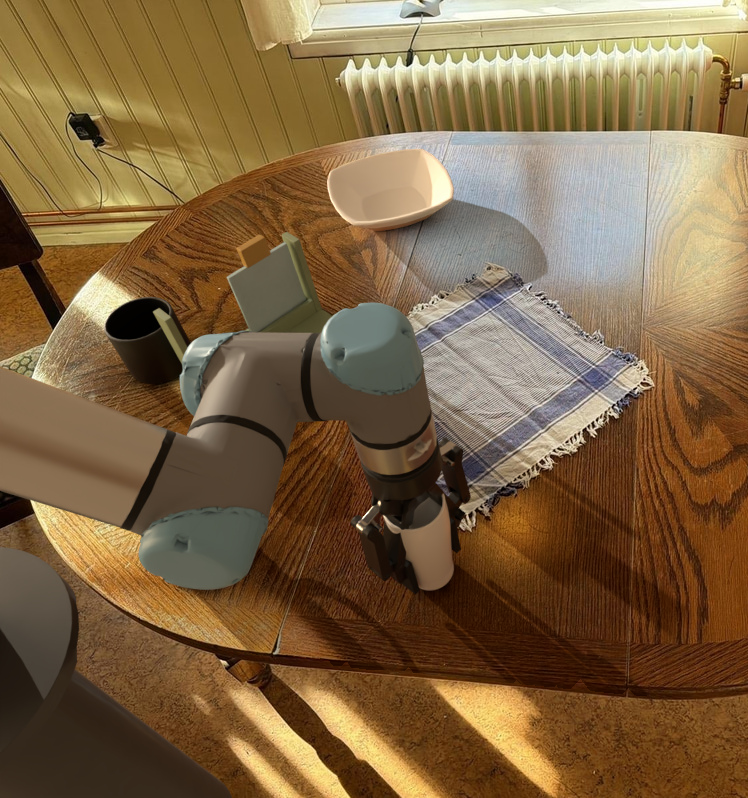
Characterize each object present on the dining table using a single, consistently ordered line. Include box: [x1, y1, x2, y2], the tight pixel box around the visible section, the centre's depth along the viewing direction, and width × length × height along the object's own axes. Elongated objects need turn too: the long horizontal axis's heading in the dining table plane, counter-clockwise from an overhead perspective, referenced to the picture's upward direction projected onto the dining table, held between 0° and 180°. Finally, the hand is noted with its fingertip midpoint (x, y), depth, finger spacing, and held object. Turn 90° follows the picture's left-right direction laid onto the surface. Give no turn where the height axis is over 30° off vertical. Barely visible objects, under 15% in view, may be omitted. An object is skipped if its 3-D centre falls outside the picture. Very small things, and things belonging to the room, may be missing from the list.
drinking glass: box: [382, 492, 455, 591], centre depth 83 cm, size 7×7×15 cm
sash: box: [226, 234, 306, 332], centre depth 109 cm, size 10×1×16 cm, turn 140°
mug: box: [103, 296, 192, 385], centre depth 110 cm, size 9×12×9 cm
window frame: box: [153, 231, 333, 363], centre depth 107 cm, size 22×14×15 cm, turn 140°
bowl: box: [326, 148, 455, 232], centre depth 136 cm, size 22×22×5 cm
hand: (430, 564), depth 88 cm, fingers closed on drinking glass, 6 cm apart
